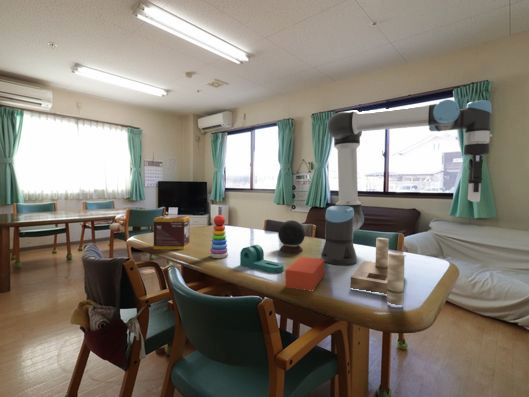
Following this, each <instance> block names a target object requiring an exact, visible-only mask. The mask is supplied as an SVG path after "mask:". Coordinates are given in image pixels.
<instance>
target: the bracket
mask: <svg viewBox="0 0 529 397" xmlns="http://www.w3.org/2000/svg"><path fill="white" fill-rule="evenodd" d="M239 255H240V256H239V257H240V259H239V261H240V262H239V264H240V266H242V267H244V268H245V267H246V268H249V269H253V270H258V271H262V272H267V273H270V274H281V273H283V272H284V269H285V268H284V264H283V263H281V262H276V261H272V260H267V259H265V257H264V256H265V253H264V250H263V248H262V246H261V245H259V244H254V245H253V244H252V245H250V246H245V247H243V248H242V249H241V251H240V253H239Z"/></svg>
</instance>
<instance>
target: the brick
mask: <svg viewBox="0 0 529 397" xmlns="http://www.w3.org/2000/svg"><path fill="white" fill-rule="evenodd" d="M324 261H325V260H324V259H321V258H316V257H309V256H307V257H306V256H300V257H299V258H297V259H296V261H294V262H293V263H292V264H291V265H289V267H287V268H286V269H285V275H284V276H285V288H289V289H295V288H296V290H299V289H305V290H311V291H312V290H315V289H316V288H317V286H318V285H319V283H320V282H321V281H322V279H323V278H324V276H325V262H324ZM322 277H323V278H322ZM321 278H322V279H321ZM319 281H320V282H319ZM318 282H319V283H318ZM317 284H318V285H317ZM316 285H317V286H316ZM315 287H316V288H315ZM314 288H315V289H314ZM305 290H304V291H305ZM311 291H310V292H311ZM312 292H313V291H312Z"/></svg>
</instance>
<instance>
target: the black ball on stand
mask: <svg viewBox="0 0 529 397" xmlns="http://www.w3.org/2000/svg"><path fill="white" fill-rule="evenodd" d="M277 234H278V239H279V241H280V243H282V244H283V245H282V246H280V248H279V251H280V252H281V253H284V254H285V253H286V254H299V253H302V252H304V251H303V250H304V249H303V248H302V246H301V244H303V242H304V240H305V237H306V231H305V228H304V226H303V225H302V223H300V222H298V221H296V220H286V221H284V222H283V223H282V224H281V225H280V227H279V228H278V233H277Z"/></svg>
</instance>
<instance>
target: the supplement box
mask: <svg viewBox="0 0 529 397" xmlns="http://www.w3.org/2000/svg"><path fill="white" fill-rule="evenodd" d="M190 237H191V236H190V216H189V215H188V216H186V215H185V216H183V215H181V216H180V215H162V216H158V217H154V218H153V250H171V249H184V250H185V249H187V248H188V247H189V246H190V244H191V243H190ZM186 247H187V248H186Z"/></svg>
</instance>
